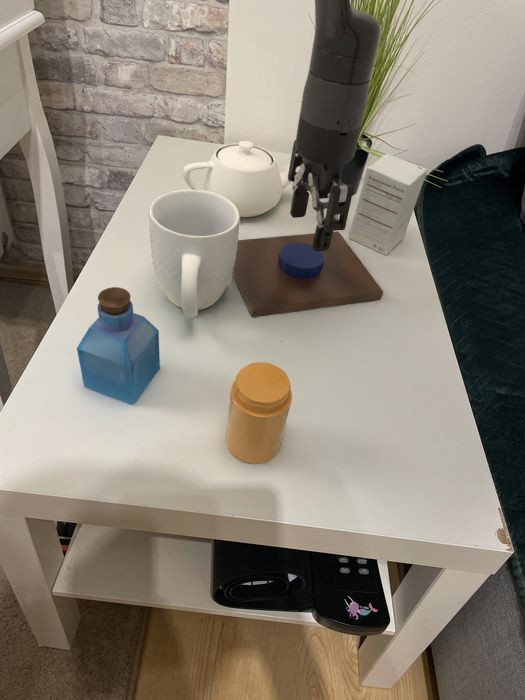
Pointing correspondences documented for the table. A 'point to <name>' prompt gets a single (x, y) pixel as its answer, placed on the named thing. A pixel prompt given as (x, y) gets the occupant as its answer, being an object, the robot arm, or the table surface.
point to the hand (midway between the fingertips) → (308, 232)
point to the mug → (193, 246)
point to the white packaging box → (386, 203)
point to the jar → (258, 412)
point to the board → (294, 293)
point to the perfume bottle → (119, 349)
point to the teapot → (242, 177)
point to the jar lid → (300, 260)
